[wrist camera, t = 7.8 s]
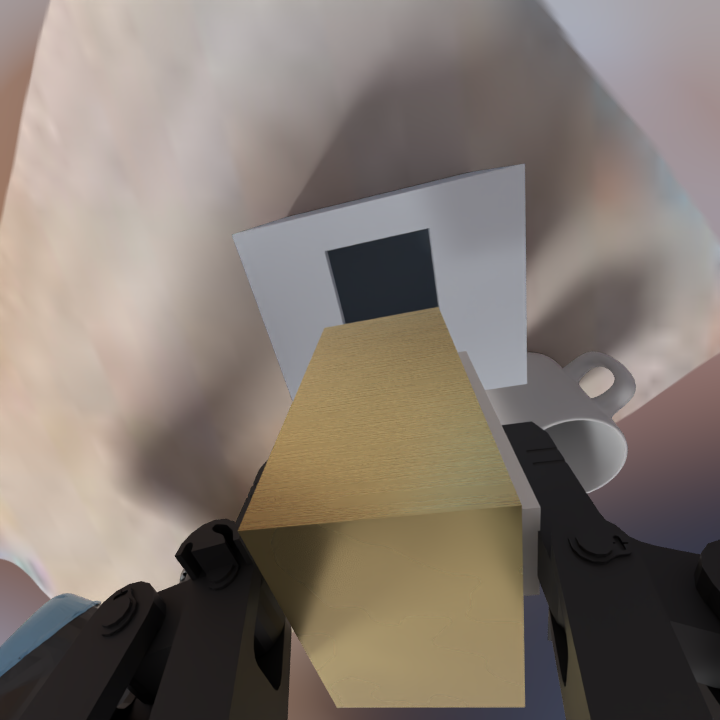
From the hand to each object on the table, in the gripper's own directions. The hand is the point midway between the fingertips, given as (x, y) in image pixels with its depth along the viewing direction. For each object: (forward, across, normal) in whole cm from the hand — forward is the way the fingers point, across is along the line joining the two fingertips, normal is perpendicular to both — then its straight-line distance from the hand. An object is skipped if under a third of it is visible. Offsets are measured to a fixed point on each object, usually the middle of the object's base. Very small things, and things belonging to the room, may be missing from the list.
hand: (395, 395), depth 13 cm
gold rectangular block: (0, 0, 0) cm, 0 cm away
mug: (+22, +13, -14) cm, 29 cm away
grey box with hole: (+21, 0, 0) cm, 21 cm away
